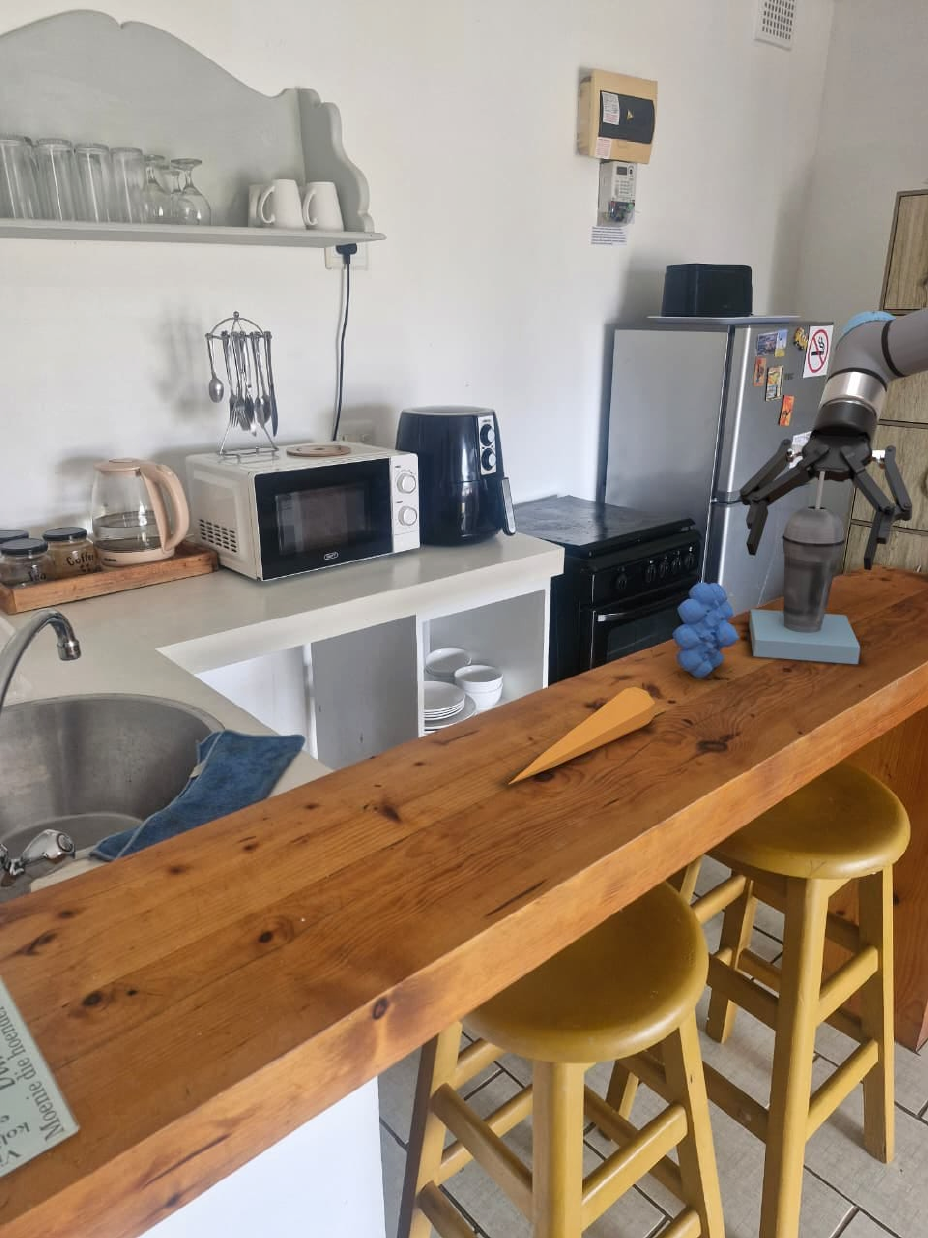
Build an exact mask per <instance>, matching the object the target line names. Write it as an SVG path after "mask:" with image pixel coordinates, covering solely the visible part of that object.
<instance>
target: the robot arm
mask: <svg viewBox="0 0 928 1238" xmlns="http://www.w3.org/2000/svg"><path fill="white" fill-rule="evenodd" d="M830 366H831V367H830V370H829V373H828V377H827V380H826V382H825V386H824V389H823V392H822V395H821V398H820V400H819V401H820V402H819V405H818V408H817V413H816V415H815V417H814V421H813V424H812V428H811V431H810V434H809V438H808V440H807V442H806V443H805V444H804V445H799V444H793V443H792V440H791V439H789V438H786V439H783V440H781V442H780V445H779V447H778V449H777V451H776V452H775V454H774V455H772V456H771V457H770V459H768V461H766V462H765V464H763V465H762V466H761V468H759V470H757V472H756V473H755V474H754V475H752V477H751V478H750V479H749V480H748V481H747V482H746V483H745V484H744V485H743V486H742V487H741V488H740V489H739V495H740V500H741V503H742V505H743V506H749V508H748V513H747V515H746V518H745V522H746V526H747V529H748V530H750V531H749V534H748V536H747V541H746V542H745V543H746V548H747V552H748V555H749V556H755V557H756V554H757V551H758V548H759V545H760V543H761V538H762V536H763V532H764V529H765V526H766V523H767V519H768V517H769V508H768V507H769V506H771V505H772V504H773V503H775V502H777V501H778V500H779V499H782V497H784V496H786V495H787V494H789V493H790V492H792V491H793V490H795V489H796V488H797V487H799V486H801V485H802V484H807V483H809V482H810V481H812V480H814V479H815V478H816V479H817V481H819V477H820V472H821V471H824V472H825V474H824V481H834V482H838V483H844V482H845V481H846V480H850V481H851V483H852V484H853V485H854V487H855V488H856V489H858V490H859V491H860V492H861V494H862V495H863V496H864V498H865V499H866V500H867V501H868V503H869V504H870V506H871V507H872V508H873V509H874V510H875V513H874V516H873V520H872V524H871V528H870V532H869V534H868V539H867V540H868V541H867V542H866V547H865V551H864V555H863V570H866V571H872V568H873V565H874V561H875V557H876V553H877V549H878V545H887V544H888V543H889V541H890V537H891V533H892V530H893V526H894V524H895V523H896V522H897V521H903V522H909V521H911V520H912V519H913V502H912V500H911V497H910V495H909V493H908V489H907V487H906V485H905V483H904V480H903V477H902V475H901V471H900V469H899V467H898V465H897V447H896V446H895V445H893V444H890V445H887V446H886V447H885V449H875V450H874V449H873V448H872V447H873V443H874V439H875V435H876V432H877V429H878V423H879V420H880V417H881V414H882V410H883V406H884V402H885V399H886V394H887V392H888V389H889V386H890V383H891V382H893V381H896V380H900V379H903V378H908V377H910V376H914V375H917V374H920V373H924V372H927V371H928V306H927V307H924V308H921V309H918V310H915V311H914V312H910V313H908V314H905V315H903V316H899V317H897V318H896V317H895V316H894V315H892V314H890V313H888V312H885V311H881V310H878V311H875V312H870V310H869V311H863V312H859V313H858V314H856V315H854V316H853V317H852V318H850V319H849V320H848V321H847V322H846V324H845V325H844V327H843V329H842V332H841V334H840V337H839V339H838V341H837V343H836V345H835V349H834V354H833V358H832V363H831V365H830ZM798 457H802V458H801V459H800V460H798V461H797V463H796V464H795V465H794V467H793V466H792V468H790V469H789V470H787V471H786V472H785V473H782V472H784V470H786V468H787V466H788V465H789V464H792V463H794V462H795V460H796V459H797V458H798ZM872 462H875V463H876V465H877V467H878V468H880V470H883V473H884V477H885V480H886V482H887V486H888V489H889V490H890V493H891V495H892V498H893V501H894V502H891V501H890V499H889V498H888V496H887V495H886V494H885V492H883V490H882V489H881V487H880V486H879V485H878V484H877V483H876V481H875V480H874V479H873V478H872V476H871V475H870V474H869V472H868V471H867V469H866V467H868V466H870V465H871V463H872ZM781 473H782V475H781ZM779 475H780V476H779ZM824 481H823V482H824Z"/></svg>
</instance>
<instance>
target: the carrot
mask: <svg viewBox="0 0 928 1238" xmlns="http://www.w3.org/2000/svg"><path fill="white" fill-rule="evenodd" d="M655 716H656V702H655V701H654V699H653V698H652V697H651V695H650V694H649V692H648V691H647V690H646V689H643V688H639V687H637V686H632V687H628V688H625V689H623V690H622V691H621V692H619V693H618V694H616V695H615V696H614V697H613V698H612V699H610V700H609V701H608V702H607V703H605V704H604V705H603V706H601V707H600V708H599V709H597V710H596V711H595V712H594V713H592V714H591V715H590V716H589V717H587V718H586V719H585V720H583V721H582V722H581V723H580V724H578V725H577V726H576V727H574V728H573V729H572V730H571V731H570V732H568V733H567V734H566V735H564V736H563V737H562V738H561V739H559V740H558V741H557V742H555V743H554V744H553V745H552V746H550V747H549V748H548V749H546V750H545V751H544V752H542V754H540V755H539V757H537V758H536V759H535V760H534V761H533V762H532V763H530V764H529V765H528V766H527V767H525V769H524V770H523V771H521V772H520V773H519V774H518V775H517V776H515V778H514V779H512V781H510V782H509V783H508V785H510V784H513V783H516V782H519V781H521V780H524V779H526V778H529V777H532V776H534V775H537V774H540V773H542V772H544V771H547V770H550V769H552V768H555V767H557V766H559V765H562V764H564V763H566V762H568V761H570V760H573V759H575V758H577V757H580V756H582V755H584V754H586V753H588V752H591V751H593V750H595V749H598V748H600V747H602V746H604V745H606V744H609V743H611V742H613V741H615V740H617V739H620V738H623V737H624V736H626V735H628V734H631V733H634V732H636V731H638V730H640V729H642V728H644V727H645V726H647V725H648V724H649V723H651V721H652V720H653V719H654V718H655Z"/></svg>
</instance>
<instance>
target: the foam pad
mask: <svg viewBox="0 0 928 1238" xmlns="http://www.w3.org/2000/svg"><path fill="white" fill-rule="evenodd" d="M748 623H749V624H748V625H749V632H750V640H751V648H752V654H753V655H752V656H753V657H758V658H759V657H760V658H770V659H771V658H774V659H785V660H787V659H788V660H799V661H810V662H823V663H836V664H848V665H849V664H850V665H858V664H859V659H860V653H861V646H860V643H859V641H858V639H857V637H856V634H855V633H854V629H853V628H852V626H851V623H850V622H849V619H848V617H847V614H846V615H845V614H832V613H831V614H829V613H825V616H824V619H823V622H822V625H821V630H820V631H818V632H813V633H803V632H796V631H792V630H789V629H787V628H785V627H784V614H783V610H769V609H755V608H754V609H753V608H751V609H750V614H749V622H748Z"/></svg>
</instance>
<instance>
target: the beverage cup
mask: <svg viewBox="0 0 928 1238" xmlns="http://www.w3.org/2000/svg"><path fill="white" fill-rule="evenodd" d="M824 474H825V472H824V471H821V472H820V477H819V480H818V486H817V493H816V499H815V505H808V506H805V507H802V508H800V509H799V510H797V511H795V512H794V513H793V514H792V515H791V516H790V518H788V521H787V523H786V525H785V527H784V530H783V534H782V536H781V538H782V553H783V555H784V557H783V564H784V565H783V600H782V602H783V603H782V611H783V614H784V627H785V628H787V629H789V630H792V631H796V632H803V633H813V632H818V631H820V630H821V625H822V622H823V619H824V616H825V614H826V611H827V607H828V603H829V598H830V594H831V590H832V584H833V580H834V575H835V571H836V567H837V563H838V559H839V558H840V555H841V552H842V550H843V545H844V544H845V542H846V541H845V529H844V525H843V522H842V519H840V516H838V514H836V512H835V511H833V510H832V509H830V508H828V507H826V506H823V505H821V503H822V497H823V496H822V495H823V487H824Z"/></svg>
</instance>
